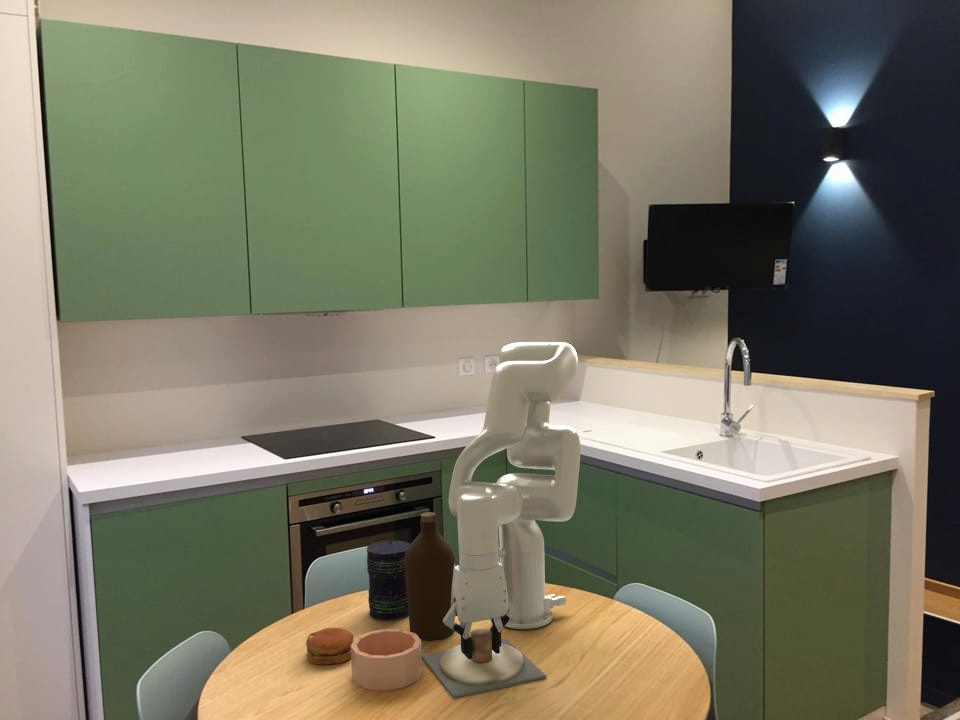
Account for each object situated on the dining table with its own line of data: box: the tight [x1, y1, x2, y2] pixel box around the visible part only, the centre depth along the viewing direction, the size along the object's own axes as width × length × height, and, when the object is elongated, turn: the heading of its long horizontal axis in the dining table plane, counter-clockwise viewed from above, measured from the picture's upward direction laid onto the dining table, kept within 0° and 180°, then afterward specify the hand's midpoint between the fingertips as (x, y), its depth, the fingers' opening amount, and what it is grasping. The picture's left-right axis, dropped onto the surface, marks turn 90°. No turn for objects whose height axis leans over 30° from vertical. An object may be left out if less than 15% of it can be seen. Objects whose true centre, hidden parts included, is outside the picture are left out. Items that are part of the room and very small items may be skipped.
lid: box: [440, 628, 523, 684], centre depth 157 cm, size 16×16×6 cm
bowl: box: [350, 628, 423, 692], centre depth 156 cm, size 13×13×6 cm
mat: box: [422, 638, 547, 699], centre depth 157 cm, size 18×18×1 cm
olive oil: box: [404, 511, 457, 641], centre depth 174 cm, size 11×11×25 cm
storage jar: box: [366, 539, 411, 622], centre depth 185 cm, size 10×10×15 cm
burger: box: [305, 627, 354, 665], centre depth 165 cm, size 10×9×5 cm
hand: (481, 652), depth 157 cm, fingers open, 4 cm apart
